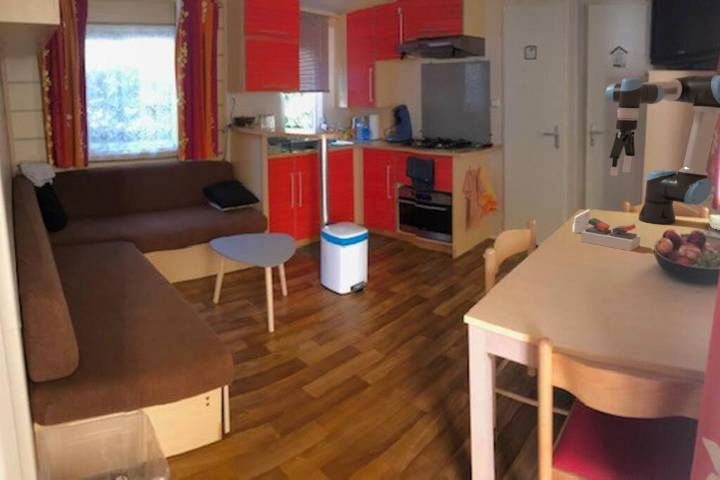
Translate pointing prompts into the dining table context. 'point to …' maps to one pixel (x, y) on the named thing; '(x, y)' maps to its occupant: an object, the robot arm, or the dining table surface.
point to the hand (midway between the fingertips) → (620, 173)
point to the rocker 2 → (623, 228)
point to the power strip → (611, 238)
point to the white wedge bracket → (581, 222)
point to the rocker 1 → (598, 224)
